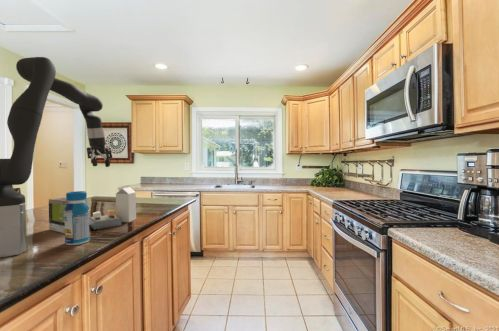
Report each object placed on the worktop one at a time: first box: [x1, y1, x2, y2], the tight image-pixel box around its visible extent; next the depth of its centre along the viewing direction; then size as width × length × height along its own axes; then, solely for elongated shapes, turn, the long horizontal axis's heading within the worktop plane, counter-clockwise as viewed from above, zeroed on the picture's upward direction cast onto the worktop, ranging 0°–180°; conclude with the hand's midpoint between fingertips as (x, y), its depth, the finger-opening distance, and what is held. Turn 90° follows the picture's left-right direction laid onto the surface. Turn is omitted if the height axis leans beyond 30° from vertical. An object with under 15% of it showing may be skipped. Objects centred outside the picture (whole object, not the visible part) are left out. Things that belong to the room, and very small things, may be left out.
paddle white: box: [92, 210, 103, 218], centre depth 130 cm, size 4×3×2 cm
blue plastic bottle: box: [64, 190, 91, 246], centre depth 104 cm, size 8×8×20 cm
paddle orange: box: [106, 209, 116, 215], centre depth 134 cm, size 4×3×2 cm
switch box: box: [89, 214, 122, 231], centre depth 132 cm, size 14×12×4 cm
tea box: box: [48, 196, 87, 234], centre depth 124 cm, size 15×10×15 cm, turn 58°
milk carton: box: [115, 184, 137, 223], centre depth 141 cm, size 7×7×19 cm
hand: (101, 166), depth 143 cm, fingers open, 8 cm apart
